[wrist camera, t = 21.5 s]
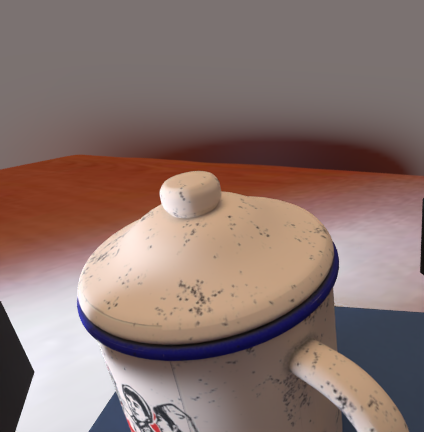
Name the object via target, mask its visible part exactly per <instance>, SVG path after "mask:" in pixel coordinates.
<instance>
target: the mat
mask: <svg viewBox="0 0 424 432" xmlns="http://www.w3.org/2000/svg"><path fill="white" fill-rule="evenodd" d="M334 310H335V325H336V340H337V352H338V353H340V354H342V355H343V356H345V357H346V358H348V359H350V360H351V361H353V362H354V363H355V364H357V365H358V366H359V367H361V368H362V369H363V370H364V371H365V372H367V373H368V374H369V375H370V376H371V377H372V378H373V379H374V380H375V381H376V382H377V383H378V384H379V385H380V386H381V387H382V388H383V390H384V391H385V392H386V393H387V394H388V396H389V397H390V398H391V400H392V401H393V402H394V404H395V405H396V407H397V408H398V410H399V411H400V413H401V415H402V416H403V418H404V420H405V423H406V425H407V427H408V430H409V432H424V313H422V312H408V311H393V310H379V309H364V308H350V307H336V306H334ZM341 413H342V432H357V430H356V429H355V427H354V426H353V425H352V423H351V422H350V421H349V420H348V418H347V417H346V416H345V415H344V414H343V412H342V411H341ZM89 432H131V429H130V427H129V424H128V422H127V419H126V416H125V414H124V411H123V408H122V406H121V403H120V400H119V398H118V395H117V392H115V393H114V395H113V396H112V397H111V399H110V400H109V402H108V403H107V405H106V406H105V408H104V409H103V411H102V412H101V414H100V415H99V417H98V418H97V420H96V421H95V423H94V424H93V426H92V427H91V429H90V430H89Z"/></svg>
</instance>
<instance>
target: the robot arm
mask: <svg viewBox="0 0 424 432" xmlns="http://www.w3.org/2000/svg"><path fill="white" fill-rule="evenodd" d="M420 273H422V274H423V275H424V198H423V208H422V236H421V265H420ZM33 375H34V370H33V368H32V366H31V364H30V362H29V359H28V357H27V355H26V353H25V351H24V349H23V347H22V345H21V343H20V341H19V338H18V336H17V334H16V332H15V330H14V328H13V326H12V324H11V322H10V320H9V317H8V315H7V313H6V311H5V309H4V307H3V305H2V303H1V301H0V432H15V430H16V427H17V424H18V421H19V418H20V415H21V412H22V409H23V406H24V403H25V400H26V397H27V393H28V390H29V387H30V384H31V381H32V378H33Z"/></svg>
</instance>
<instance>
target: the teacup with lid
mask: <svg viewBox="0 0 424 432" xmlns="http://www.w3.org/2000/svg"><path fill="white" fill-rule="evenodd" d="M160 198H161V202H162V204H161V205H159V206H158V207H156V208H154V209H153V210H151V211H150V212H149V213H147V214H146V215H145V216H143V217H142V218H141V219H139V220H137V221H135V222H133V223H132V224H130V225H128V226H126V227H124V228H123V229H121V230H120V231H118V232H117V233H115V234H114V235H112V236H111V237H110V238H108V239H107V240H106V241H105V242H104V243H103V244H102V245H101V246H100V247H99V248H97V249H96V251H95V252H94V253H93V254H92V255H91V257H90V258H89V260H88V261H87V263H86V264H85V266H84V268H83V270H82V273H81V276H80V279H79V284H78V298H77V308H78V313H79V317H80V319H81V321H82V324H83V325H84V327H85V328H86V330H87V331H88V332H89V333H90V334H91V335H92V336H93V337H94V338H95V339H96V340H97V342H98V344H99V347H100V350H101V352H102V355H103V358H104V360H105V363H106V366H107V368H108V371H109V374H110V376H111V379H112V382H113V384H114V387H115V390H116V392H117V395H118V398H119V400H120V403H121V406H122V408H123V411H124V414H125V416H126V419H127V422H128V424H129V427H130V429H131V432H342V413H341V411H342V412H343V414H344V415H345V416H346V417H347V418H348V420H349V421H350V422H351V423H352V425H353V426H354V427H355V429H356V430H357V432H409V430H408V427H407V425H406V423H405V420H404V418H403V416H402V415H401V413H400V411H399V410H398V408H397V407H396V405H395V404H394V402H393V401H392V400H391V398H390V397H389V396H388V394H387V393H386V392H385V391H384V390H383V388H382V387H381V386H380V385H379V384H378V383H377V382H376V381H375V380H374V379H373V378H372V377H371V376H370V375H369V374H368V373H367V372H365V371H364V370H363V369H362V368H361V367H359V366H358V365H357V364H355V363H354V362H353V361H351V360H350V359H348V358H346V357H345V356H343V355H342V354H340V353H338V352H337V340H336V325H335V310H334V295H333V286H334V284H335V281H336V279H337V275H338V270H339V257H338V252H337V249H336V247H335V244H334V242H333V241H332V239H331V236H330V234H329V232H328V231H327V229H326V228H325V227H324V225H323V224H322V223H321V222H320V221H319V220H318V219H317V218H316V217H315V216H313V215H312V214H311V213H309V212H308V211H306V210H304V209H302V208H300V207H298V206H296V205H293V204H290V203H287V202H284V201H280V200H276V199H270V198H263V197H249V196H243V195H239V194H235V193H230V192H221V189H220V183H219V181H218V179H217V178H216V177H215V176H214V175H213V174H211V173H209V172H204V171H194V172H187V173H183V174H179V175H176V176H174V177H172V178H170V179H168V180H167V181H165V182H164V184H163V185H162V187H161V190H160Z"/></svg>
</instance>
